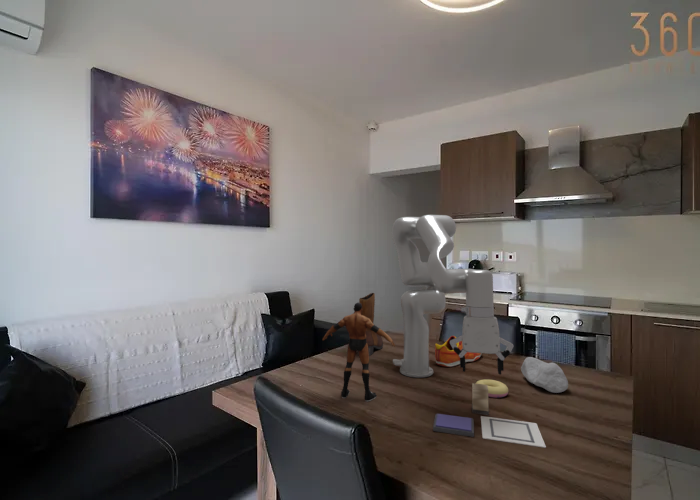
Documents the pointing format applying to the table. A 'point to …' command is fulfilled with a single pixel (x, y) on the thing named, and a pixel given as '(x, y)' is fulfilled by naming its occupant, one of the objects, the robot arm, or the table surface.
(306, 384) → the table surface
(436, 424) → the ink pad
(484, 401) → the beige cardboard box
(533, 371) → the decorative stone
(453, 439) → the table surface
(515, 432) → the sheet
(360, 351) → the figurine
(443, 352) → the running shoe
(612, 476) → the table surface
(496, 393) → the donut
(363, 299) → the boot
